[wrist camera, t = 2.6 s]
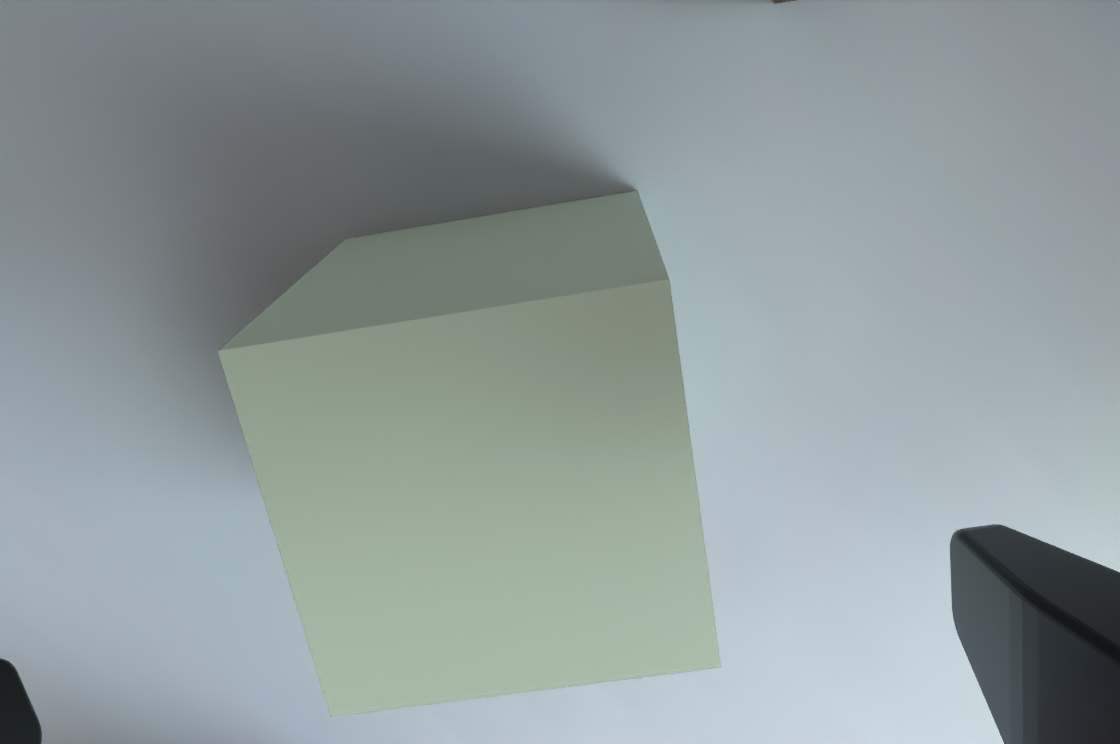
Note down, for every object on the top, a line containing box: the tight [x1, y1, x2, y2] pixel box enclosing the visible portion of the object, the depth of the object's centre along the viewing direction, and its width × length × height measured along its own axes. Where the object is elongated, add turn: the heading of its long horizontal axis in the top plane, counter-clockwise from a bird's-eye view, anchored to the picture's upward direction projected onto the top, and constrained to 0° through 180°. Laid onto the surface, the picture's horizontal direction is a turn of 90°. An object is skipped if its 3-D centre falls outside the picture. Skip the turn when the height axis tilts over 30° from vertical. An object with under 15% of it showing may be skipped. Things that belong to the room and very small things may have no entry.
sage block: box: [218, 191, 721, 717], centre depth 14 cm, size 5×5×6 cm
